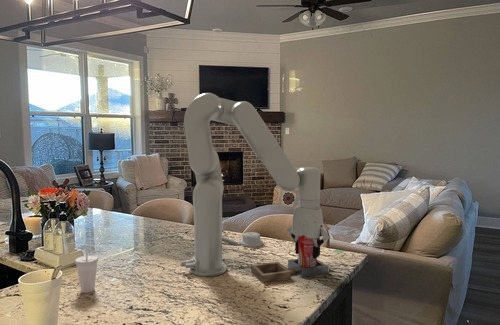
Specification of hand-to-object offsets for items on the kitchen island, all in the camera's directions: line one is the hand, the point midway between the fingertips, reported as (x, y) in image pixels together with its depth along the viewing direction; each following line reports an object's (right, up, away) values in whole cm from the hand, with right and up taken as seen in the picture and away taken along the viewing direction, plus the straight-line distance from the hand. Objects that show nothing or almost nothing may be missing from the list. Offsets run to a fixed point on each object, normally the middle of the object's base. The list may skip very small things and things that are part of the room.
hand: (307, 254), depth 128 cm
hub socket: (-2, -5, 0) cm, 6 cm away
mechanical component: (-19, -3, +30) cm, 36 cm away
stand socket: (-13, -6, -5) cm, 15 cm away
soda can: (0, -4, +1) cm, 4 cm away
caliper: (-33, -3, +32) cm, 47 cm away
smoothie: (-68, -7, -16) cm, 71 cm away
